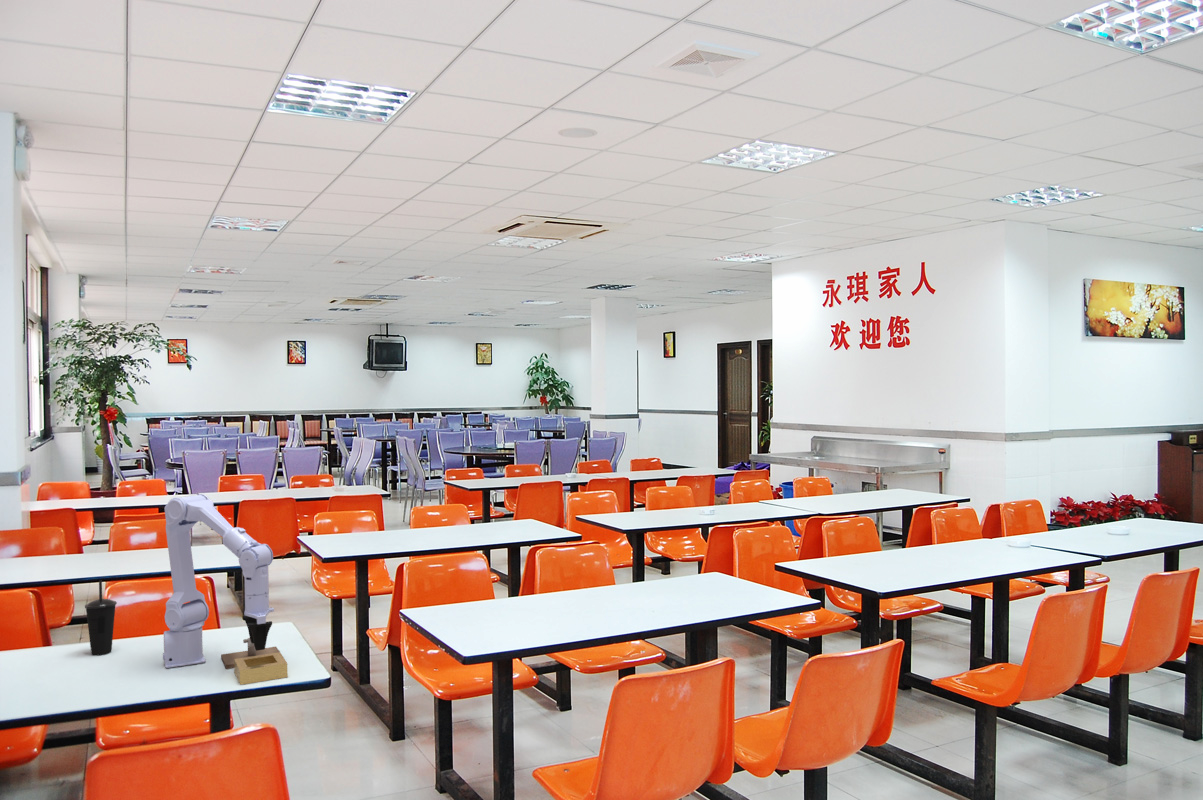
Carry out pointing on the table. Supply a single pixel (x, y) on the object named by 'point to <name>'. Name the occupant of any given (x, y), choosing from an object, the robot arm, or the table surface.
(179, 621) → the robot arm
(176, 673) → the table surface
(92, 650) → the drinking cup
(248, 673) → the tan slotted block
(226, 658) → the board
